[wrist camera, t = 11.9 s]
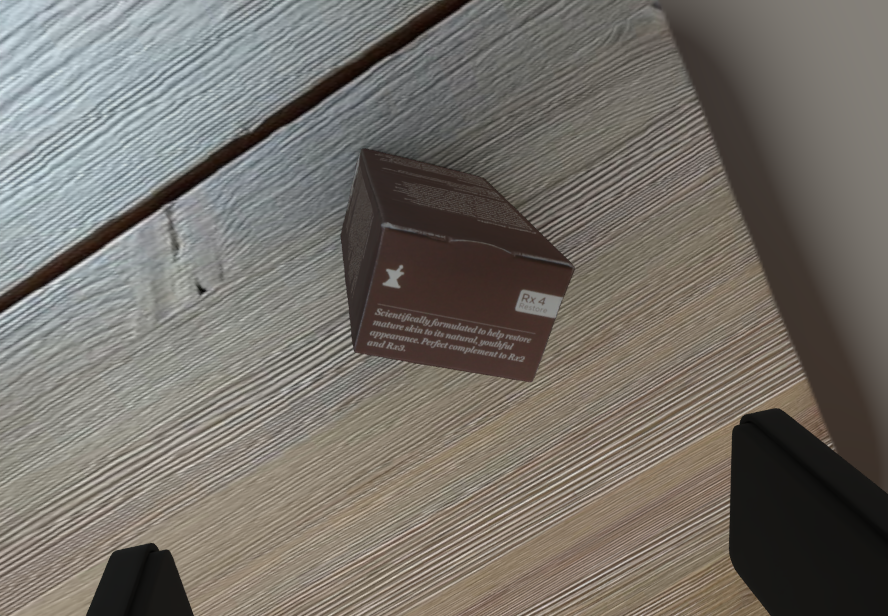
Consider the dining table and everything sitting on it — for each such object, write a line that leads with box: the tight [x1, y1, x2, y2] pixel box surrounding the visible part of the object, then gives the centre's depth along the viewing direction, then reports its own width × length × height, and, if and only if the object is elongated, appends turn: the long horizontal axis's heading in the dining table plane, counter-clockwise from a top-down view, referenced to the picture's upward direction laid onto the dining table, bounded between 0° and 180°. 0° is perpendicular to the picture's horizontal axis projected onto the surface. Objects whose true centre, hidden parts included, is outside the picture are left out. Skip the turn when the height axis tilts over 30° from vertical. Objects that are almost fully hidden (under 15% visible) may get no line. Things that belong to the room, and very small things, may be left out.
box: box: [340, 148, 575, 382], centre depth 26 cm, size 6×4×12 cm
